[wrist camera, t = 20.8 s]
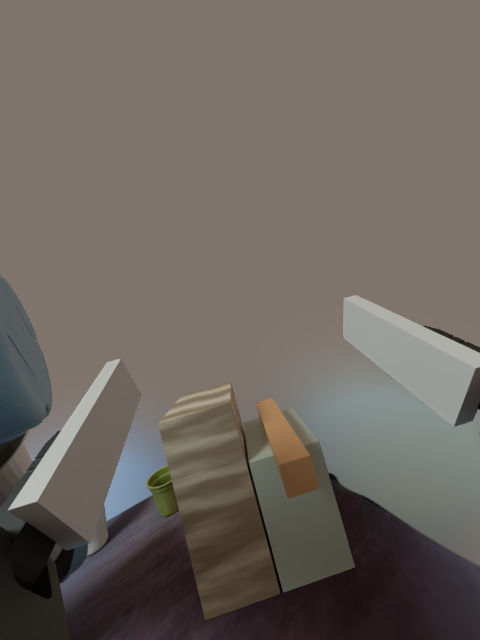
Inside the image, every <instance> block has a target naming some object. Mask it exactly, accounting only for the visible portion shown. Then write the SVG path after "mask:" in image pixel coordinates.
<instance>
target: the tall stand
mask: <svg viewBox="0 0 480 640" xmlns="http://www.w3.org/2000/svg"><path fill="white" fill-rule="evenodd" d="M158 425H159V429H160V432H161V437H162V441H163V445H164V449H165V454H166V458H167V462H168V467H169V471H170V475H171V479H172V483H173V488H174V492H175V496H176V500H177V504H178V508H179V513H180V517H181V521H182V525H183V529H184V534H185V538H186V542H187V546H188V550H189V555H190V559H191V563H192V567H193V571H194V576H195V580H196V584H197V588H198V592H199V597H200V601H201V605H202V609H203V613H204V618H205V620H208V619H211V618H214V617H216V616H219V615H222V614H225V613H228V612H231V611H233V610H236V609H239V608H242V607H245V606H248V605H250V604H253V603H256V602H259V601H262V600H265V599H267V598H270V597H273V596H276V595H279V594H281V593H280V588H279V583H278V577H277V572H276V567H275V562H274V556H273V552H272V548H271V545H270V541H269V537H268V533H267V529H266V526H265V522H264V518H263V514H262V511H261V507H260V503H259V499H258V495H257V492H256V488H255V484H254V480H253V476H252V473H251V469H250V465H249V460H248V452H247V445H246V438H245V434H244V430H243V426H242V422H241V419H240V415H239V411H238V407H237V404H236V400H235V396H234V392H233V389H232V385H231V382H228V383H224V384H221V385H218V386H214V387H211V388H207V389H204V390H200V391H197V392H193V393H189V394H186V395H182V396H181V397H180V398H179V400H178V401H177V402H176V403H175V404H174V405H173V407H172V408H171V409H170V410H169V411H168V413H167V414H166V415H165V416H164V417H163V418H162V420H161V421H160V422H159V423H158Z"/></svg>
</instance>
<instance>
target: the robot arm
mask: <svg viewBox="0 0 480 640" xmlns="http://www.w3.org/2000/svg"><path fill="white" fill-rule="evenodd" d="M343 317H344V318H343V319H344V320H343V338H344V339H346V340H347V341H348V342H349V343H351V344H352V345H353V346H354V347H356V348H357V349H358V350H359V351H361V352H362V353H363V354H364V355H365V356H367V357H368V358H369V359H370V360H372V361H373V362H374V363H376V364H377V365H378V366H379V367H380V368H382V369H383V370H384V371H385V372H387V373H388V374H389V375H390V376H392V377H393V378H394V379H395V380H396V381H398V382H399V383H400V384H401V385H403V386H404V387H405V388H406V389H408V390H409V391H410V392H411V393H413V394H414V395H415V396H416V397H418V398H419V399H420V400H421V401H423V402H424V403H425V404H426V405H427V406H429V407H430V408H431V409H432V410H434V411H435V412H436V413H437V414H439V415H440V416H441V417H442V418H444V419H445V420H446V421H447V422H449V423H450V424H451V425H452V426H454V427H455V426H458V425H461V424H464V423H467V422H470V421H473V419H474V417H475V414H476V412H477V410H478V409H479V410H480V347H477V346H475V345H473V344H471V343H469V342H465V341H464V340H462V339H460V338H457V337H453V335H451V334H448V333H446V332H444V331H442V330H439V329H435V328H431V327H427V326H421V325H419V324H417V323H415V322H412V321H410V320H408V319H406V318H404V317H402V316H400V315H397V314H395V313H393V312H391V311H389V310H386V309H384V308H382V307H380V306H378V305H376V304H374V303H372V302H369V301H367V300H365V299H363V298H361V297H359V296H356V295H355V296H351V297H347V298H344V316H343ZM140 398H141V393H140V391H139V389H138V387H137V385H136V384H135V382H134V380H133V379H132V377H131V375H130V373H129V372H128V370H127V368H126V367H125V365H124V363H123V361H122V360H121V359H118V360H114V361H111V362H107V363H106V365H105V366H104V368H103V369H102V371H101V372H100V374H99V375H98V377H97V378H96V380H95V381H94V383H93V384H92V386H91V387H90V389H89V390H88V391H87V393H86V394H85V396H84V397H83V399H82V400H81V402H80V403H79V405H78V406H77V408H76V409H75V411H74V413H73V414H72V415H71V417H70V418H69V420H68V421H67V423H66V424H65V426H64V427H63V429H62V430H61V431H58V432H57V433H56V434H55V435H54V436H53V437H52V438H51V439H50V440H49V441H48V442H47V443H46V444H45V445H44V447H43V448H42V449H41V451H40V452H39V454H38V455H37V457H36V458H35V461H33V462H32V461H31V459H30V457H29V455H28V453H27V451H26V449H25V447H24V445H23V442H24V440H25V438H26V436H27V434H28V432H29V430H30V429H32V428H34V427H36V426H37V425H39V424H40V423H42V421H43V419H45V418H46V417H47V416H48V415H49V412H50V410H51V406H52V391H51V384H50V379H49V375H48V370H47V366H46V363H45V359H44V356H43V353H42V351H41V349H40V346H39V345H38V342H37V339H36V334H35V331H34V329H33V327H32V325H31V322H30V320H29V318H28V316H27V314H26V312H25V310H24V308H23V306H22V304H21V302H20V300H19V299H18V297H17V295H16V294H15V292H14V291H13V289H12V288H11V286H10V285H9V284H8V282H7V281H6V280H5V279H4V278H3V277H2V276H1V275H0V640H71V638H70V633H69V628H68V623H67V619H66V614H65V609H64V604H63V599H62V594H61V589H60V584H59V583H62V582H64V581H65V580H66V579H67V578H68V577H69V575H70V574H72V573H73V572H74V571H75V570H76V569H78V568H79V567H80V566H81V565H82V564H83V562H84V561H85V559H86V556H87V553H88V544H89V543H91V540H92V537H93V534H94V531H95V528H96V525H97V522H98V520H99V517H100V514H101V511H102V508H103V505H104V502H105V499H106V496H107V493H108V491H109V488H110V485H111V482H112V479H113V476H114V473H115V470H116V467H117V465H118V462H119V459H120V455H121V453H122V450H123V447H124V444H125V441H126V439H127V436H128V433H129V430H130V427H131V424H132V421H133V418H134V415H135V412H136V410H137V407H138V404H139V401H140Z"/></svg>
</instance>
